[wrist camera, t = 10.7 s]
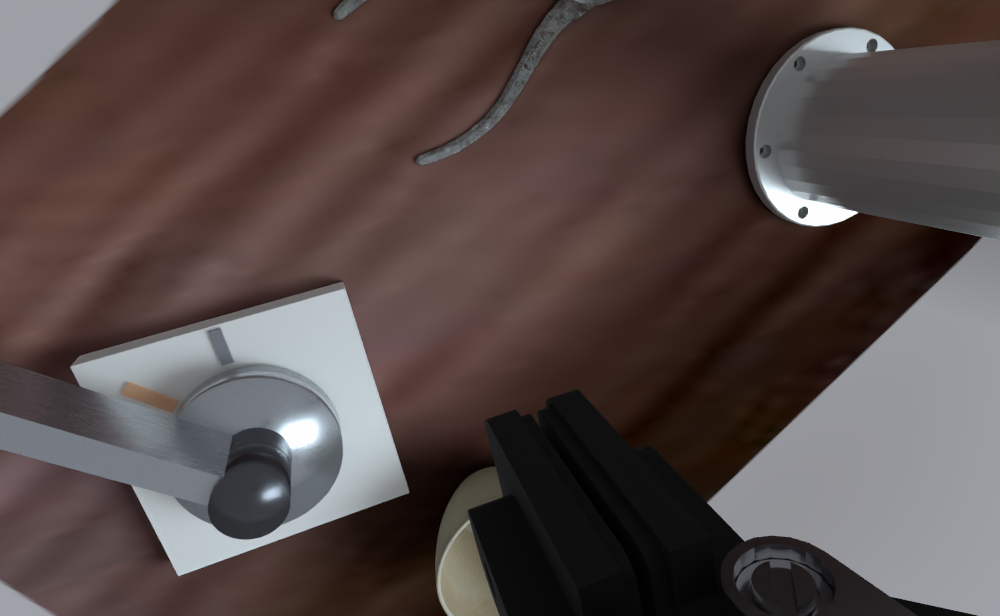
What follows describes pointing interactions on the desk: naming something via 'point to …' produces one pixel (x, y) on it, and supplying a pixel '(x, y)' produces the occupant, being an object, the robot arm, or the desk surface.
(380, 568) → the desk surface
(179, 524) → the dial plate
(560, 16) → the pliers
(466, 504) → the flower pot
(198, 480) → the dial
